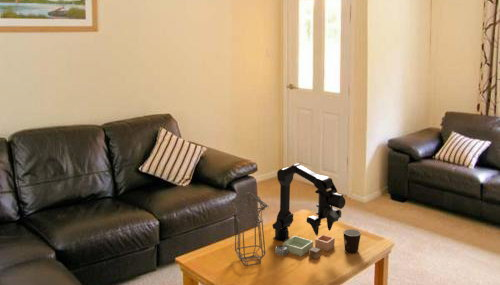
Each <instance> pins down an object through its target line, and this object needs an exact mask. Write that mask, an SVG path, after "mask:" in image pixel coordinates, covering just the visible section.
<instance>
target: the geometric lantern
mask: <svg viewBox="0 0 500 285" xmlns="http://www.w3.org/2000/svg"><path fill="white" fill-rule="evenodd" d="M254 201H257V202H258V203H259V207H258V208H255V207H254ZM233 202H234V203H233ZM245 202H247V204H245ZM229 204H230V206H231V209H232V210H233V212H234V214H235V233H234V236H235V237H234V252H235V254H236V255H237V257H238V258H239V260H240V261H241V260H242V261H241V262H242V263H243V265H244V266H245V265H246V267H248V265H249V266H255V265H260V264H262V259H263V258H264V257H265V256H266V254H267V253H266V246H265V234H264V224H263V222H264V219H262V217H263V211H265V210H266V208H268V207H269V205H268V204H267V203H265V202H264V201H263V200H262V199H261V197H260V196H258V195H255V194H253V193H252V192H249V191H248V192H245V193H244V194H242V195H240V196H237V197H235V198H233V199H231V200H230V201H229ZM250 205H251V207H252V208H251V207H250ZM244 207H247V208H244ZM256 210H258V211H256ZM244 211H245V212H244ZM246 211H247V213H246ZM250 211H251V212H252V213H251V214H250ZM238 212H239V214H238ZM242 213H243V214H244V215H241V214H242ZM250 216H253V217H254V219H253V220H254V222H247V223H244V222H245V221H246V219H247V218H248V217H250ZM240 217H245V218H244V220H243V221H242V222H241V220H240ZM256 220H257V222H256ZM252 224H254V245H248V246H245V238H244V237H245V232H244V225H245V226H246V225H252ZM256 224H257V225H256ZM256 228H258V229H257V230H258V241H259V245H257V236H256V235H257V231H256ZM241 230H242V232H241ZM261 231H262V232H261ZM241 233H242V247H241ZM262 240H263V241H262ZM252 247H253V248H254V249H253V251H252V252H247V253H245V252H246V250H245V249H247V248H252ZM256 247H258V248H257V250H256ZM241 249H243V253H242V252H241ZM260 249H261V256H260V255H259V254H258V252H259V250H260ZM249 254H252V255H250V256H249ZM246 255H248V257H247V256H246ZM246 257H247V258H246ZM248 259H251V260H248ZM253 261H259V262H258V263H250V264H249V262H253Z"/></svg>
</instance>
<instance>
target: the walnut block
mask: <svg viewBox="0 0 500 285" xmlns="http://www.w3.org/2000/svg"><path fill="white" fill-rule="evenodd" d="M320 257H321V250H320V249H318V248H315V246H313V248H311V249H310V250H309V251H308V258H310V259H313V260H317V259H319V258H320Z"/></svg>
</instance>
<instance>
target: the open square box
mask: <svg viewBox="0 0 500 285" xmlns="http://www.w3.org/2000/svg"><path fill="white" fill-rule="evenodd" d="M335 241H336V240H335V237H333V236H329V235H326V234H321V235H319V236H318V237H316V238H315V240H314V242H315V243H314V247H315V248H318V249H320V251H323V252H326V253H328V252H329V251H331V250H333V248H335Z"/></svg>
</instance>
